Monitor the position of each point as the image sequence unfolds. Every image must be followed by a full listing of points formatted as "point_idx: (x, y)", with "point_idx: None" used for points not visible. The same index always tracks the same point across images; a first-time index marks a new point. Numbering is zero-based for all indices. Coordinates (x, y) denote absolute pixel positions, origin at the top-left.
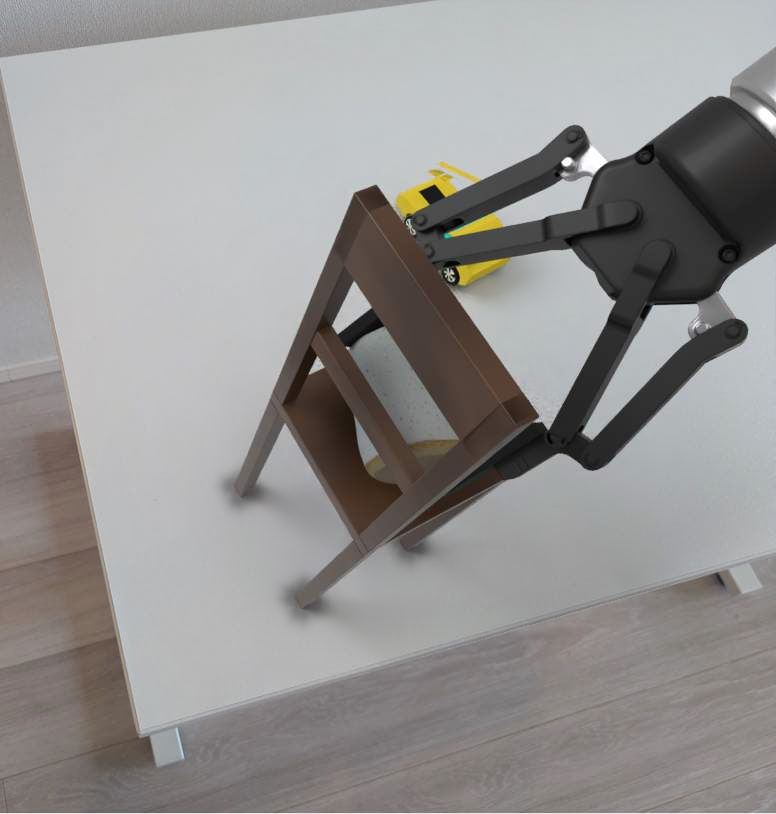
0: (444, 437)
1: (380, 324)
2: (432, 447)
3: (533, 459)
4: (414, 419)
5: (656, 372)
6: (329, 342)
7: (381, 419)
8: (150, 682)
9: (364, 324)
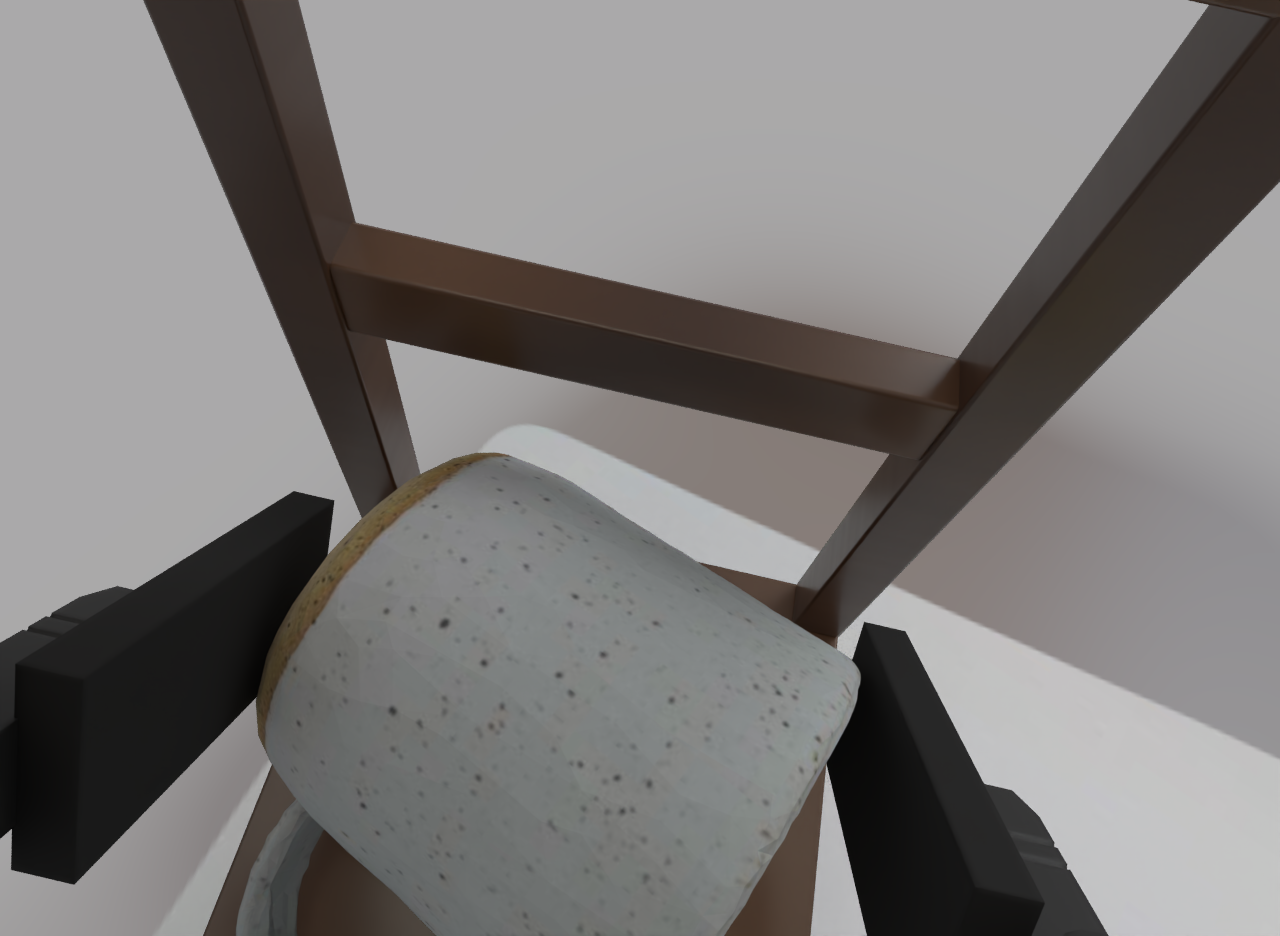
0: (389, 531)
1: (868, 757)
2: (400, 494)
3: (20, 649)
4: (512, 512)
5: None
6: (902, 360)
7: (578, 293)
8: (541, 444)
9: (898, 675)
